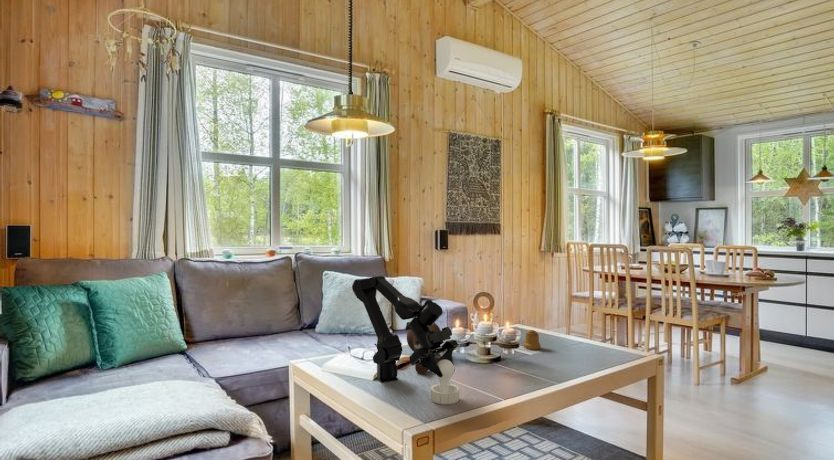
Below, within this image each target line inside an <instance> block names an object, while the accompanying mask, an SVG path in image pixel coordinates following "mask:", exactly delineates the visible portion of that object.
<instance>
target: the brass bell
mask: <svg viewBox="0 0 834 460" xmlns="http://www.w3.org/2000/svg"><path fill="white" fill-rule="evenodd" d="M539 337H540V335H539V333H538V332H537V331H536V330H534V329H531V330H529V331H527V332H526V333H525V338H524V339H525V340H524V343H523V347H524V349H525V348H526V350H528V349H531V350H530V351H539V350H540V349H541V344H540V338H539ZM538 349H539V350H538Z"/></svg>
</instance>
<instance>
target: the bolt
mask: <svg viewBox="0 0 834 460" xmlns="http://www.w3.org/2000/svg"><path fill="white" fill-rule="evenodd" d="M440 357H441V356H435V361H436V363H438V362H439V361H441V360H440V359H439V358H440ZM420 363H421V361H420V359H419V363H418V364H416V365H414V368H415V371H416V373H417V374H418V375H422V376H424V375H427V374H428V372H429V370H428V369H427V368H425V367H423V366H420V365H419V364H420Z"/></svg>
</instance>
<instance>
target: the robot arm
mask: <svg viewBox="0 0 834 460" xmlns="http://www.w3.org/2000/svg"><path fill="white" fill-rule="evenodd" d="M351 289H352V291H353V293H354V295H355V297H356V298H357V300H359V301H360V302H362V303H363V305H364V308H365V311H366V313H367V315H368V318H369V320H370V323H371V325H372V328H373V329H374V332H375V335H376V337H377V340H376V350H377V351H376V352H375V354H373V356H372V361H373V363H374V364H376V375H377V378H376V379H377V380H378V381H379V382H380V383H385V382H391V381H392V382H393V381H398V380H399V379H398V365H397V362H398V361H400V360H401V355H402V354H403V353H402V352H403V343H402V342H401V339H400V336H399V335H398V334H393V333H391V331H390V329H389V326H388V324H387V322H386V319H385V317H384V314H383V312H382V310H381V306H380V305H379V302H378V300H377V293H379V294H381V295H382V296H383V297H384V298H385V299H386V300H388V302H389V303H390V304H391V305H392V306H393V308H394V311H395V314H397V316H398V318H400V319H401V320H402V321H406V320H410V321H407V322H406V325H405V331H406V332H407V331H408V330H412V332H413V334H414V336H415V337H416V339H417V341H416V344H417V345H419V344H420V346H421V347H422V348H419V349H416V350H415V351H412V352H413V353H411V354H410V355H409V359H408V360H409V362H410V364H411V366H415V365H416V364H418V363H419V360H420V361H421V363H420V364H419V365H420V366H423V367H425V368H427V369H428V371H430V372H431V373H433V374H434V375H436V376H437V377H438V376H439V377H442V376H443V375H442V372H441V370H440V368H439V366H438V365H437V363H436V361H435V357H436V356H435V355H438V354H439V355H440V356H439V357H440V358H439V359H440V360H449V361H450V362H452V364H453V365H454V360H453V352H454V351H455V350H456V349H457V347H459V343H458V341H457V340H456V339H451V337H452V336H453V331H452V330H451V328H450V327H449V326H446V327H442V328H441V331H439V332H436V331H435V330H433V331H431V329H430V327H429V326H431V325H433V324H434V323H436V321H438V320H439V318H441V316H442V315H443V312H444V311H443V309H442V306H441V305H439V304H438V303H436V302H434V301H433V300H432V299H427V300H426V301H425V302H424V304H423V305H420V303H419V302H418V301H416V300H415V299H414V298H411V297H408V296H406V295H404V294H402V292H401V291H399V290H398V289H397V288H396V287H395V286H394V285H392V284H391V283H390V281H388V280H387V279H386V277H385V276H383V275H374V276H372V277H367V278H357V279H354V281H353V283H352V285H351ZM444 341H445V342H444ZM454 366H455V365H454ZM455 372H456V369H455V367H454V373H455Z"/></svg>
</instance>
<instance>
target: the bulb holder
mask: <svg viewBox="0 0 834 460" xmlns="http://www.w3.org/2000/svg"><path fill="white" fill-rule="evenodd" d="M430 401H431V402H432V403H435V404H438V405H442V406H447V405H449V406H450V405H451V406H452V405H454V404H457V403H459V402H460V387H458V386H457V385H455V384H452V383H450V385H449V390H448V393H442V392H441V389H440V383H438V384H433V385H431V386H430Z"/></svg>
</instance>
